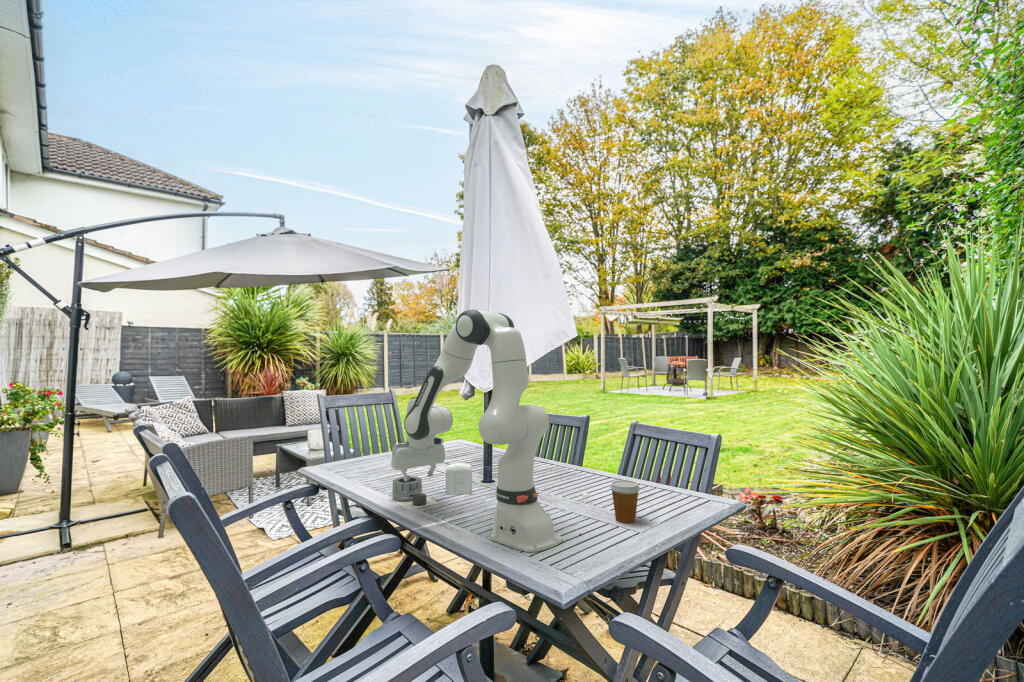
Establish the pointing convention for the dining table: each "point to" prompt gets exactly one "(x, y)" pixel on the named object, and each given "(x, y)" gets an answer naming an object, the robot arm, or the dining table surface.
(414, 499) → the cap
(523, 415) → the robot arm
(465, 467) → the photo printer
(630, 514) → the disposable coffee cup
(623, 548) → the dining table surface
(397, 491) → the grey castle nut
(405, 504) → the board
